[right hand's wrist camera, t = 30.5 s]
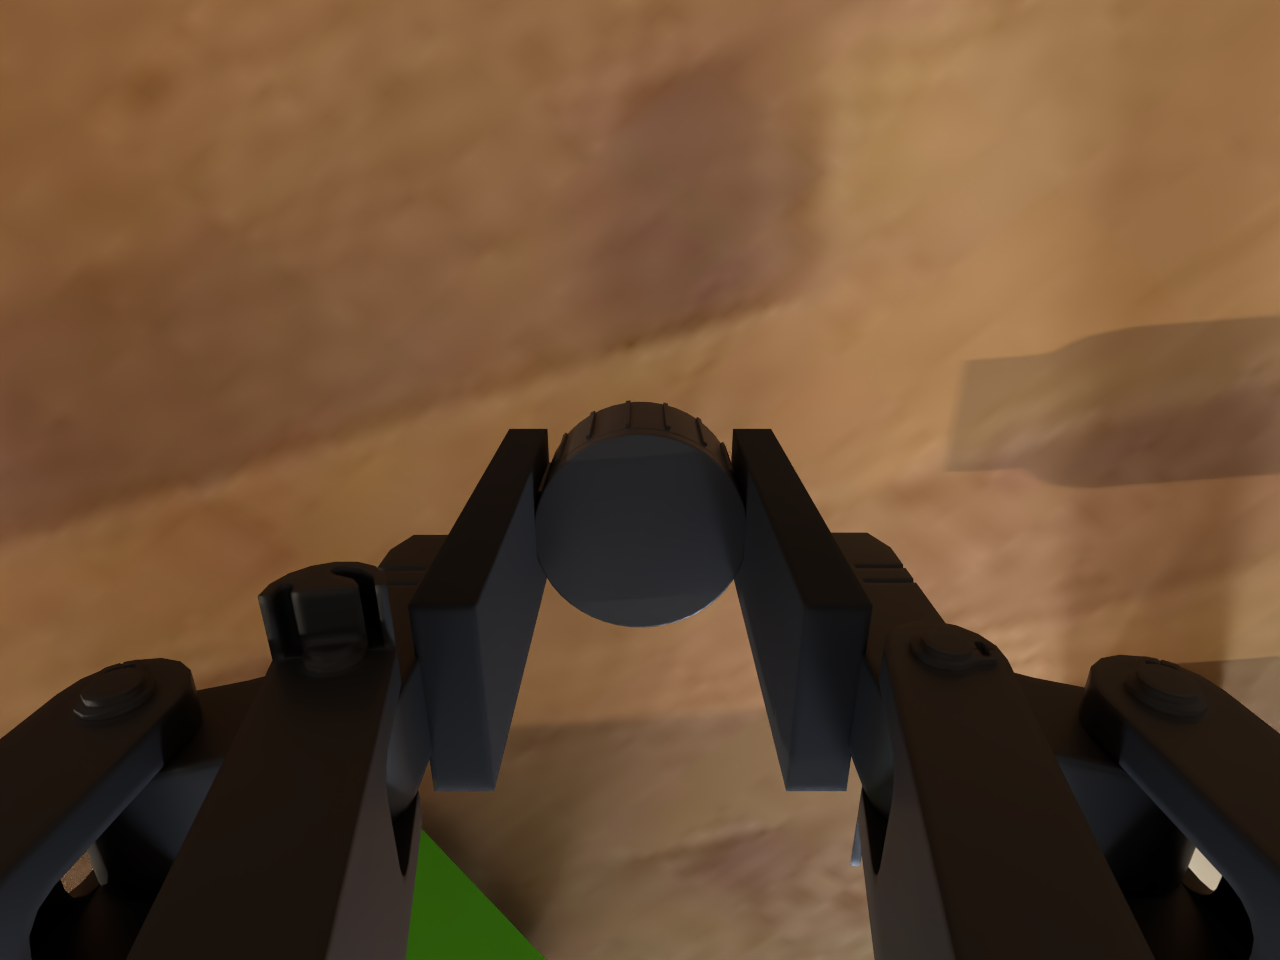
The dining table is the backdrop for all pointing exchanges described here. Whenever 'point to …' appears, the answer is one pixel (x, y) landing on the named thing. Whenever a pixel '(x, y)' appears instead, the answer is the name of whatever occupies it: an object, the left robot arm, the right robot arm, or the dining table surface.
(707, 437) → the cap
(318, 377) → the dining table surface
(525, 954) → the toy car
